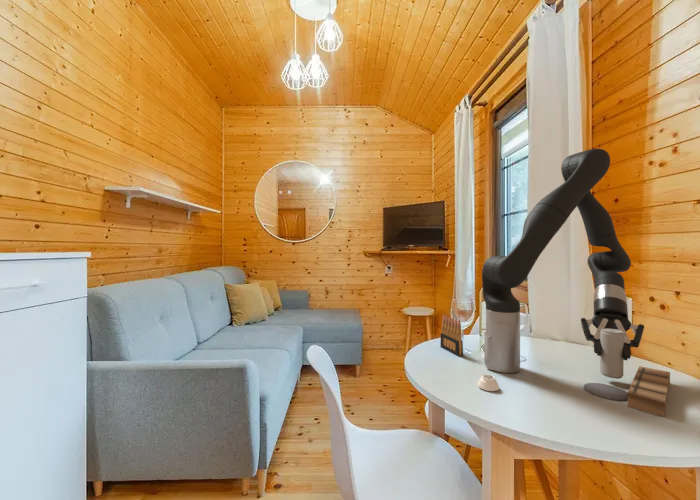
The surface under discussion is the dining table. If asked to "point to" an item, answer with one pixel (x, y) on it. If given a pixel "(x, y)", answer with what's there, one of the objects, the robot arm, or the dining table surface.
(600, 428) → the dining table surface
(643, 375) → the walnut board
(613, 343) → the beverage can
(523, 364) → the dining table surface
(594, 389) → the end pad
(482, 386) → the small beige bowl
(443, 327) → the ammunition clip
